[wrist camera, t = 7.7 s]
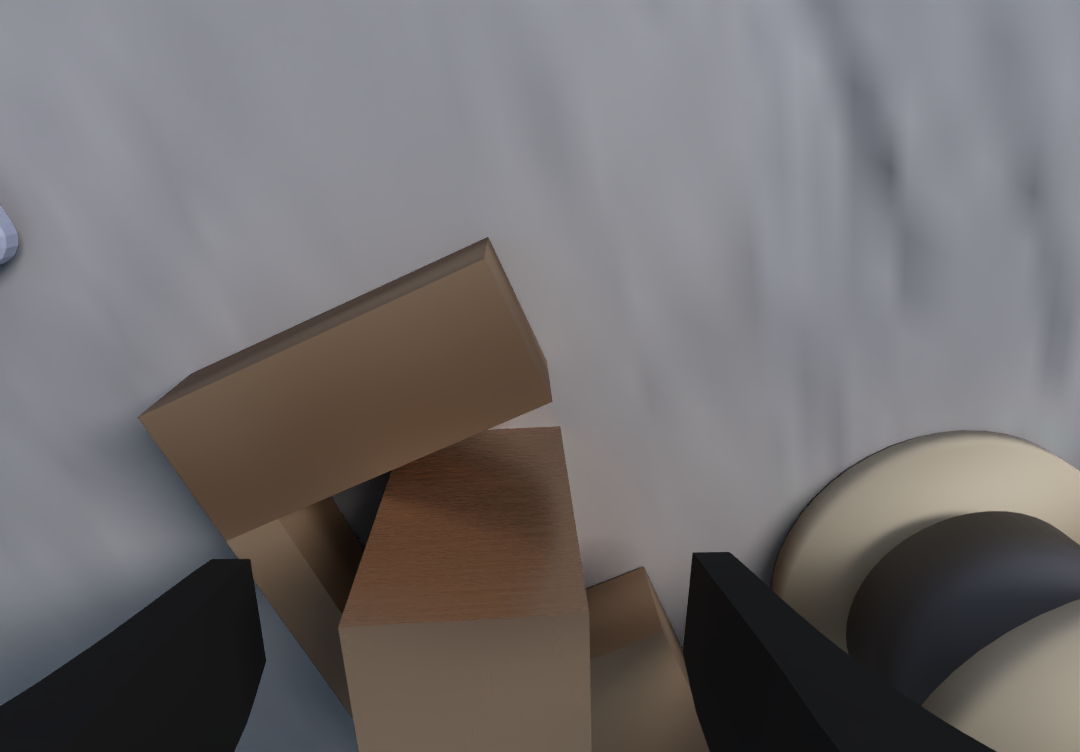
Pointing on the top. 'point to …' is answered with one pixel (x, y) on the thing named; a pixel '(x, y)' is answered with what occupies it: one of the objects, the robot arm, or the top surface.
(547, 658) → the brown wooden block
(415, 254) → the top surface
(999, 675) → the spool
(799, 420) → the top surface
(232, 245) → the top surface
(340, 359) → the notched board
